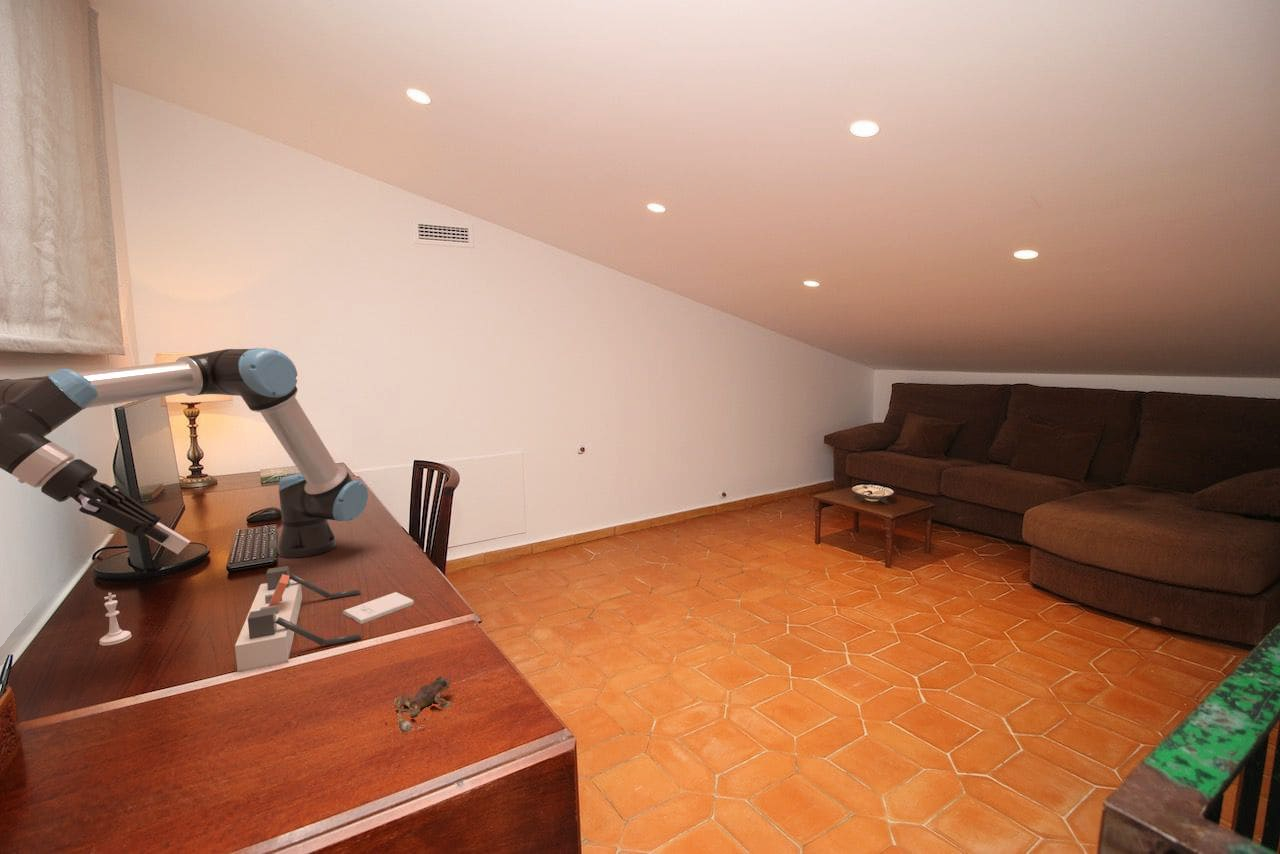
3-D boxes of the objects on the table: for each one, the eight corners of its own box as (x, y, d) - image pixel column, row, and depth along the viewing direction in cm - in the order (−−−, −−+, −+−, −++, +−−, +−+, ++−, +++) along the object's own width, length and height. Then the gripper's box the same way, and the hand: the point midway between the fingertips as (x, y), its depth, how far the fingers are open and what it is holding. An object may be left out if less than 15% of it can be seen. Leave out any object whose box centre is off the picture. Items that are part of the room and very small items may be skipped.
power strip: (237, 671, 107) (232, 625, 105) (262, 604, 135) (259, 567, 134) (361, 646, 115) (358, 603, 114) (360, 588, 144) (358, 553, 143)
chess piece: (98, 640, 119) (92, 593, 118) (129, 631, 122) (124, 586, 121) (100, 648, 116) (94, 600, 114) (133, 639, 119) (127, 592, 118)
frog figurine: (433, 682, 104) (432, 662, 103) (472, 708, 96) (471, 686, 95) (369, 712, 95) (367, 691, 94) (406, 744, 87) (404, 720, 87)
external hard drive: (414, 606, 135) (361, 626, 125) (395, 597, 140) (343, 616, 130) (413, 600, 135) (360, 619, 125) (395, 591, 140) (342, 609, 130)
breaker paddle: (267, 609, 119) (279, 582, 120) (270, 600, 124) (282, 574, 124) (275, 611, 120) (287, 584, 120) (278, 602, 125) (289, 575, 125)
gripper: (56, 482, 109) (177, 552, 119) (21, 497, 98) (159, 574, 107) (89, 451, 111) (206, 523, 120) (59, 463, 99) (191, 542, 109)
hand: (184, 547), depth 114 cm, fingers closed
